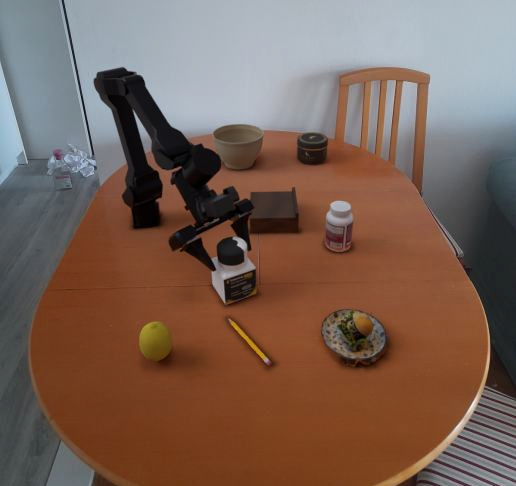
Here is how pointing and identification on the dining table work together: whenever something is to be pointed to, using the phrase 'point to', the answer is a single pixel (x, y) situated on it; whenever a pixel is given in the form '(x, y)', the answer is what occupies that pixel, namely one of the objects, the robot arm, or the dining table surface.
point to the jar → (312, 147)
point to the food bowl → (354, 336)
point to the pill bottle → (339, 226)
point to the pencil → (250, 343)
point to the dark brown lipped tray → (274, 212)
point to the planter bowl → (238, 144)
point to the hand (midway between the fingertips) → (233, 260)
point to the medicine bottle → (233, 271)
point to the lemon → (155, 341)
